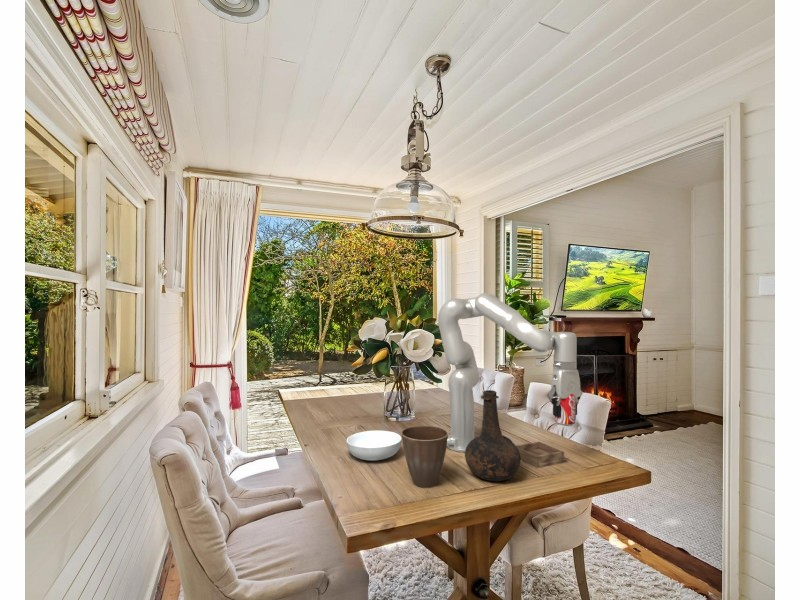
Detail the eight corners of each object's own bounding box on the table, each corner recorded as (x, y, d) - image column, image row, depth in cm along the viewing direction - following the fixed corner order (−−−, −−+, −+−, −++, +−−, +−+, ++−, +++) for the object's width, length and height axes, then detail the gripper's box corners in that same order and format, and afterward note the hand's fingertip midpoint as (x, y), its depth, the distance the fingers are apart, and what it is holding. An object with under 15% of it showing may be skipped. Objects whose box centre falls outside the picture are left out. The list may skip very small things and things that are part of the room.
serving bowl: (376, 443, 164) (376, 426, 164) (413, 456, 149) (412, 438, 149) (335, 456, 149) (335, 438, 150) (371, 472, 135) (371, 451, 135)
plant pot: (458, 485, 123) (457, 434, 124) (419, 498, 115) (419, 443, 116) (429, 470, 136) (429, 423, 136) (393, 480, 128) (392, 430, 128)
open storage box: (536, 468, 137) (536, 457, 137) (510, 454, 150) (510, 445, 150) (567, 461, 142) (566, 452, 143) (539, 449, 155) (539, 440, 155)
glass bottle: (532, 479, 128) (530, 392, 129) (492, 492, 118) (491, 399, 119) (492, 461, 143) (491, 384, 144) (454, 472, 134) (453, 389, 135)
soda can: (566, 427, 138) (566, 393, 138) (550, 422, 144) (550, 389, 144) (580, 425, 141) (580, 391, 141) (563, 420, 147) (563, 388, 148)
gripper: (554, 368, 136) (554, 420, 136) (591, 366, 143) (591, 415, 143) (539, 365, 143) (538, 414, 143) (574, 363, 150) (574, 410, 150)
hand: (565, 414), depth 143 cm, fingers closed on soda can, 7 cm apart
